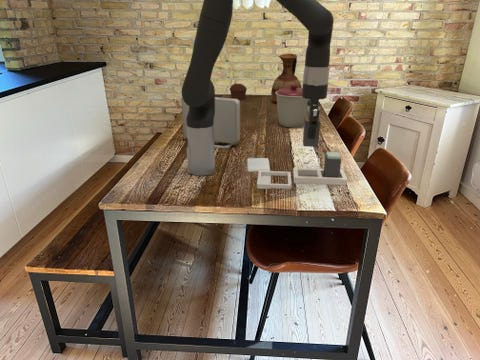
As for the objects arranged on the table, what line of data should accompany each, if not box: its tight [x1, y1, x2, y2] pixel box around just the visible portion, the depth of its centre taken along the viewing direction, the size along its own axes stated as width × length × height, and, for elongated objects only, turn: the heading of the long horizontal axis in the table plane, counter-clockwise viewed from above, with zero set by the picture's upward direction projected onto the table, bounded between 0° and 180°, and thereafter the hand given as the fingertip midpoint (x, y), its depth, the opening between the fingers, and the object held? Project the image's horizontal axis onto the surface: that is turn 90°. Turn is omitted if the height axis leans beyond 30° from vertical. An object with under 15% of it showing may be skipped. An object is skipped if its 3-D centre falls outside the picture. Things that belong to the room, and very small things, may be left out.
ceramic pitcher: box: [270, 53, 303, 103], centre depth 223 cm, size 20×20×30 cm
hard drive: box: [246, 157, 271, 173], centre depth 132 cm, size 2×8×12 cm
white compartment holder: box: [292, 167, 348, 186], centre depth 120 cm, size 17×8×3 cm, turn 84°
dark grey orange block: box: [302, 115, 321, 148], centre depth 113 cm, size 4×4×9 cm
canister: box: [275, 83, 309, 129], centre depth 178 cm, size 18×18×21 cm
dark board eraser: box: [323, 151, 342, 178], centre depth 118 cm, size 4×4×9 cm
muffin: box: [229, 83, 248, 102], centre depth 236 cm, size 12×11×10 cm
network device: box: [180, 96, 241, 149], centre depth 152 cm, size 26×9×20 cm, turn 68°
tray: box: [256, 170, 292, 190], centre depth 118 cm, size 11×11×2 cm
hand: (310, 135), depth 114 cm, fingers closed on dark grey orange block, 4 cm apart
